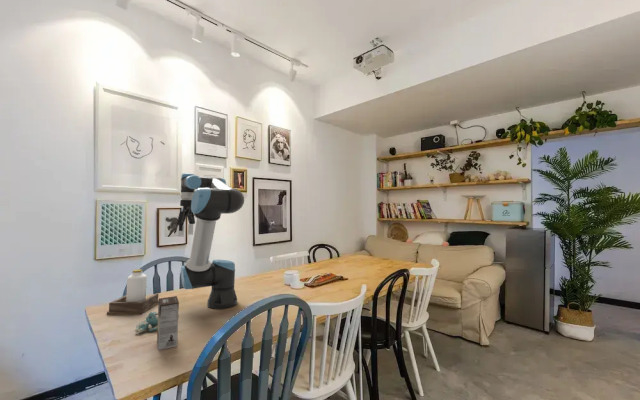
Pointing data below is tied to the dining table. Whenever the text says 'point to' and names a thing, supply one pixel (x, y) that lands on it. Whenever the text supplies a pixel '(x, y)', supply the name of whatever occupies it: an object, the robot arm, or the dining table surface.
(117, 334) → the dining table surface
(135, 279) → the potion bottle
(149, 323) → the stuffed animal
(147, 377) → the dining table surface
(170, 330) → the coffee box
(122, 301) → the walnut stand
